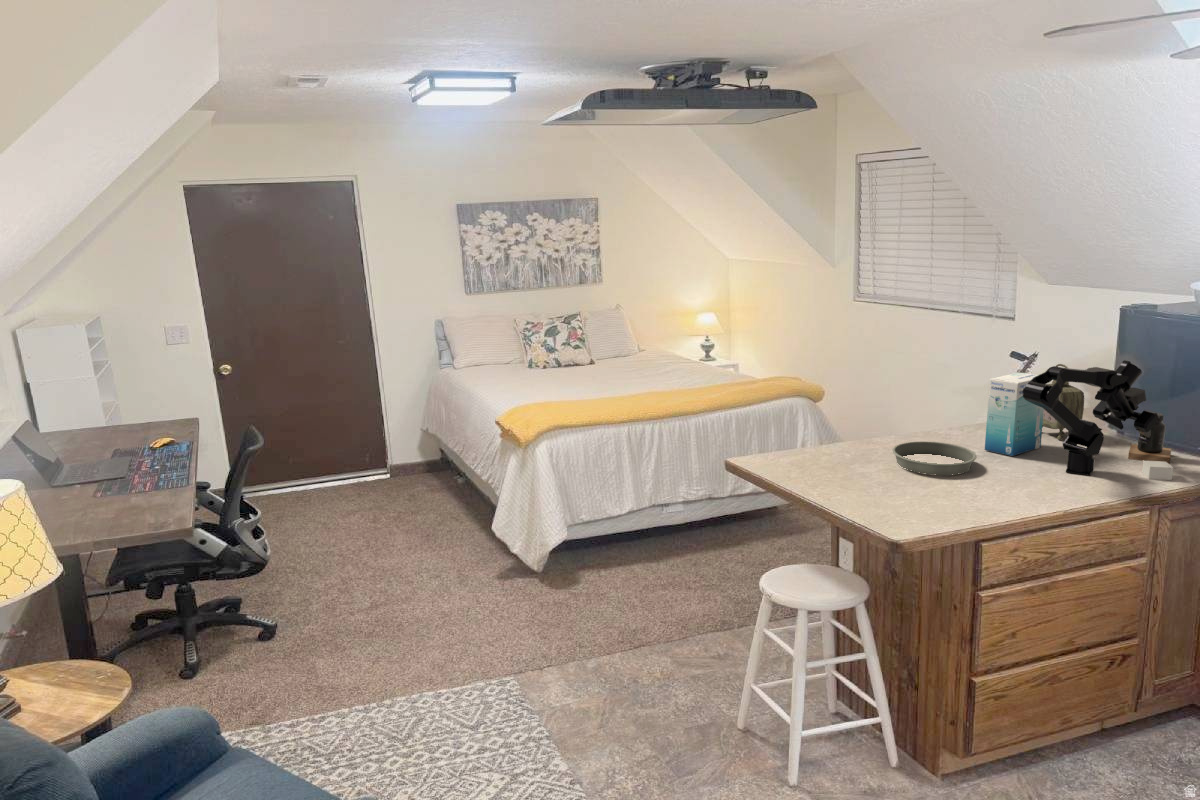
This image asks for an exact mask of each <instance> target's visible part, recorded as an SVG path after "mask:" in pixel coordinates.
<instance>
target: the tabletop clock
mask: <svg viewBox="0 0 1200 800" xmlns="http://www.w3.org/2000/svg"><path fill="white" fill-rule="evenodd" d="M1055 366H1056V367H1062V368H1069V367H1068V365H1066V364H1062V363H1058V364H1056V365H1055ZM1055 383H1056V381H1055V380H1052V381H1051V383H1047V384H1046V385H1050V386H1053V385H1054V384H1055ZM1059 400H1060V401H1061V402H1062V403H1063V404H1064V405H1065V406H1066V407H1067V408H1068V409H1069V410H1070V411H1071V412H1073V413H1074V414H1075V415H1076V416H1077V417H1078V418H1079V419H1082V420H1083V418H1084V409H1085V393H1084V392H1083V391H1082V390H1081V389H1079V388H1078V387H1075V386H1072V385H1071V384H1070V382H1065V383H1064V385H1063V390H1062V392H1061V393H1060V394H1059ZM1043 428H1048V429H1050V430H1051V429H1052V430H1059V432H1058V436H1057V437H1056V439H1057V440H1058V441H1062V440H1063V436H1064V435H1065V432H1064V429H1066V428H1065V427H1064V426H1062V425H1061V424H1060V423H1059V422H1058V421H1057V420H1056V419H1055V418H1054V417H1052V416H1051V415H1050V414H1049V413H1048V412H1047V411H1046V410H1045V409H1044V413H1043V425H1042V429H1043Z"/></svg>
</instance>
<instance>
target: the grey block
mask: <svg viewBox="0 0 1200 800" xmlns="http://www.w3.org/2000/svg"><path fill="white" fill-rule="evenodd" d="M1141 474H1143V476H1145V477H1146V478H1147V479H1148V480H1158V481H1159V480H1162V481H1172V480H1173V474H1174V467H1173V466H1172V465H1171V464H1168V463H1167V462H1165V461H1142V468H1141Z"/></svg>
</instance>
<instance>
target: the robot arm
mask: <svg viewBox="0 0 1200 800" xmlns="http://www.w3.org/2000/svg"><path fill="white" fill-rule="evenodd" d="M1142 373H1143V372H1142V370H1141V368H1139V367H1138V366H1137V365H1135V364H1133V363H1132V362H1131V361H1130V360H1126V359H1124V360H1123V361H1122V362H1121V363H1120V365H1119V367H1117V368H1116V369H1115V370H1114V369H1109V368H1104V367H1097V366H1095V367H1094V366H1093V367H1088V368H1086V369H1079V368H1069V367H1068V368H1065V367H1062V366H1058V367H1056V365H1053V366H1050V367H1049V368H1048V369H1047V370H1045V372H1042V373H1040V374H1037V375H1038V376H1036V377H1034V378H1033V379H1032V380H1031V381H1030V382H1029V383H1028V384H1027V385H1026V386H1025V387H1024V389H1023V398H1024V399H1025V400H1026V401H1028V402H1030V403H1032V404H1035V405H1037V406H1039V407H1042V408H1043V409H1045V410H1046V411H1047V412H1048V413H1049V414H1050V415H1051V416H1052V417H1054V418H1055V419H1056V420H1057V421H1058V422H1059V423H1060V424H1061V425H1062V426H1064V427H1065V428H1064V429H1065V430H1067V431H1068V432H1067V437H1066V438H1065V440H1064V441H1063V442H1062V449H1063V450H1066V451H1068V455H1067V464H1066V470H1065V473H1068V474H1074V475H1075V474H1076V475H1082V476H1091V474H1092V473H1093V472H1094V471H1095V470H1094V469H1095V461H1096V460H1095V459H1096V457H1095V456H1097V455H1099V454H1100V452H1101V449H1102V446H1103V444H1104V441H1105V438H1104V436H1105V435H1104V433H1103V431H1102V430H1103V428H1100V427H1099V426H1098V424H1097V423H1095V422H1093V421H1089V420H1086V419H1083V418H1082V419H1079V418H1078V417H1077V416H1076V415H1075V414H1074V413H1073V412H1071V411H1070V410H1069V409H1068V408H1067V407H1066V406H1065V405H1064V404H1063V403H1062V402H1061V401H1060V400H1059V394H1060V393H1061V392H1062V390H1063V385H1064V383H1065V382H1069V383H1081V384H1085V385H1088V386H1091V387H1095V388H1099V389H1098V390H1097V391H1096V394H1095V395H1094V400H1097V401H1099V402H1098V403H1097V405H1095V407H1094V408H1093V409H1092V415H1093V417H1095V418H1097V419H1098V420H1100V421H1103V422H1105V423H1107V424H1109V425H1111V426H1113V427H1115V428H1116V429H1118V430H1124V424H1123V422H1126V420H1129V419H1130V420H1133V421H1134V422H1133V427H1134V428H1135V430H1136V431H1137V432H1138V433H1139V432H1140V433H1141V434H1143V435H1144V436H1146V437H1147V438H1149V437H1150V436H1151V429H1152V427H1153V426H1154V425H1155V424H1156V423H1157V422H1158V421H1159V419H1160V418H1159V416H1158V414H1157V413H1158V412H1156V413H1155V412H1154V411H1151V410H1143V411H1142V412H1137V410H1138V409H1139V405H1140V404H1141V403H1144V402H1146V401H1147V395H1146V390H1145V389H1143V388H1142V389H1141V388H1139V387H1132V386H1133V385H1134V384H1135V383H1136V381H1137V380H1138V379H1139V378H1140V376H1141V375H1142ZM1053 380H1055V381H1056V383H1055V384H1054V385H1053V386H1050V385H1046V384H1050V382H1051V383H1052V382H1053Z"/></svg>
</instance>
